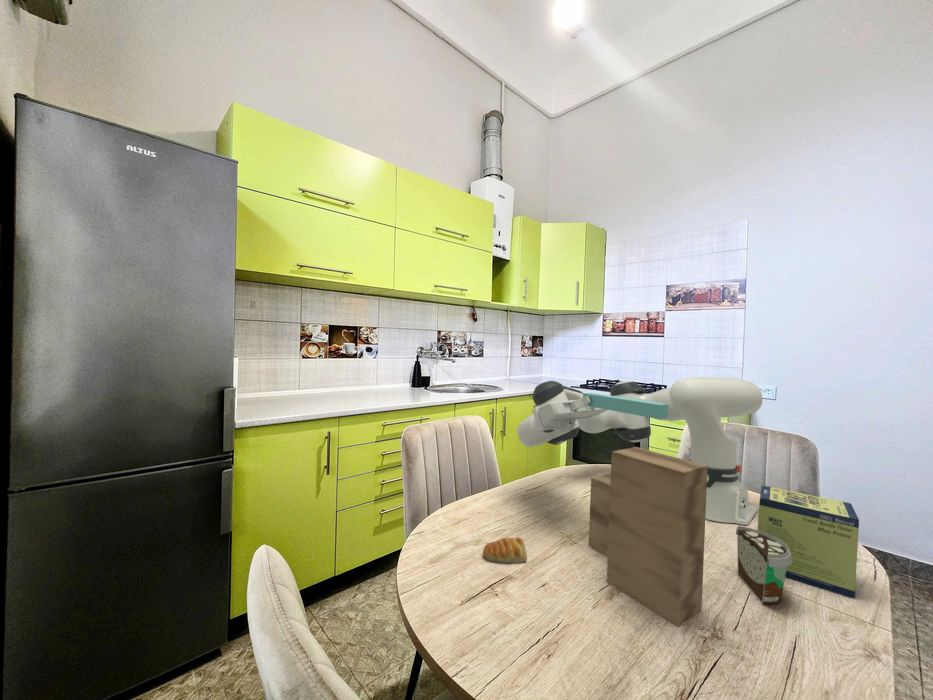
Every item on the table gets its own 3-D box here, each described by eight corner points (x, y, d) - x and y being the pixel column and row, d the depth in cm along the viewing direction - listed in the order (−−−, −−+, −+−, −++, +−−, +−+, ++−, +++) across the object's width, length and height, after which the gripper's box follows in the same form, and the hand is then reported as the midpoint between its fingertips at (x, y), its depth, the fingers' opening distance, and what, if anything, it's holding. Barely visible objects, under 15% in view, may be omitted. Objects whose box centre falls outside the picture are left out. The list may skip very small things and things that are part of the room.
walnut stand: (615, 535, 95) (619, 431, 95) (727, 591, 74) (733, 458, 74) (564, 555, 85) (568, 439, 85) (677, 626, 64) (683, 472, 64)
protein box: (857, 600, 73) (861, 519, 73) (755, 568, 83) (758, 496, 83) (848, 575, 81) (852, 502, 81) (756, 549, 91) (759, 484, 91)
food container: (806, 616, 68) (809, 560, 68) (767, 610, 69) (769, 555, 69) (767, 575, 80) (769, 528, 80) (734, 571, 81) (736, 524, 81)
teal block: (590, 404, 98) (591, 392, 98) (667, 418, 81) (668, 404, 81) (582, 405, 96) (583, 393, 96) (659, 419, 79) (660, 404, 79)
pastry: (486, 567, 80) (487, 549, 80) (479, 550, 87) (480, 533, 87) (529, 564, 82) (530, 546, 82) (519, 547, 89) (519, 531, 89)
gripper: (588, 425, 109) (627, 408, 99) (535, 432, 98) (572, 413, 88) (580, 404, 112) (617, 385, 102) (527, 409, 101) (562, 388, 91)
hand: (596, 398), depth 95 cm, fingers closed on teal block, 3 cm apart
